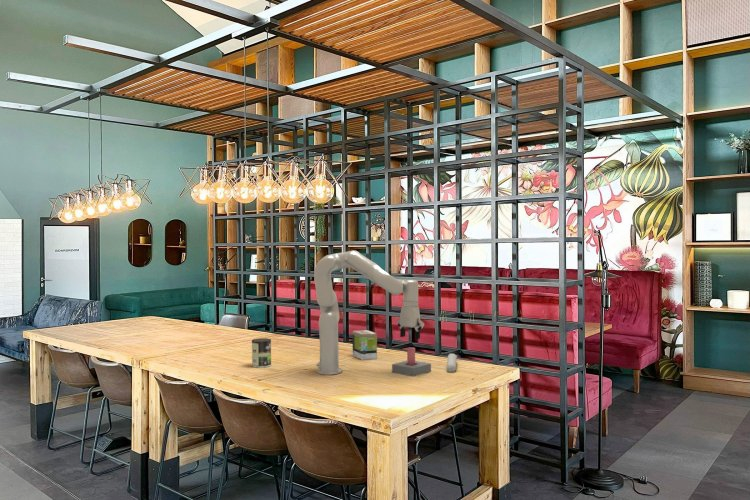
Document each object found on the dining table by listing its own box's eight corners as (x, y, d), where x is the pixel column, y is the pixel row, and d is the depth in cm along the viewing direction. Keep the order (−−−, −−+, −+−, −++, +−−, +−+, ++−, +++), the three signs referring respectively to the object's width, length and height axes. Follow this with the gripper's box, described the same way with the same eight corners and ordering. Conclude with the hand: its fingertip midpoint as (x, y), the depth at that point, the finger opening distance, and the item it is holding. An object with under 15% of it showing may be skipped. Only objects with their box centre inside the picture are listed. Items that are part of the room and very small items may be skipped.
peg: (405, 371, 293) (405, 348, 292) (410, 370, 296) (410, 347, 295) (411, 373, 290) (411, 349, 290) (416, 371, 293) (416, 348, 293)
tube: (457, 365, 289) (458, 355, 313) (447, 362, 289) (449, 352, 314) (454, 375, 289) (455, 364, 314) (444, 371, 290) (446, 361, 314)
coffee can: (274, 364, 316) (273, 338, 315) (267, 368, 305) (266, 341, 305) (256, 363, 318) (256, 337, 317) (248, 367, 307) (248, 341, 307)
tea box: (377, 359, 326) (377, 332, 326) (361, 360, 322) (360, 334, 322) (368, 354, 340) (367, 329, 339) (352, 355, 336) (351, 330, 336)
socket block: (392, 372, 292) (392, 364, 292) (409, 367, 303) (409, 359, 303) (413, 376, 283) (413, 368, 283) (430, 371, 293) (430, 363, 293)
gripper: (392, 303, 295) (392, 336, 296) (419, 306, 284) (418, 341, 284) (402, 302, 301) (401, 335, 301) (428, 305, 289) (428, 339, 289)
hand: (410, 337), depth 292 cm, fingers open, 9 cm apart
